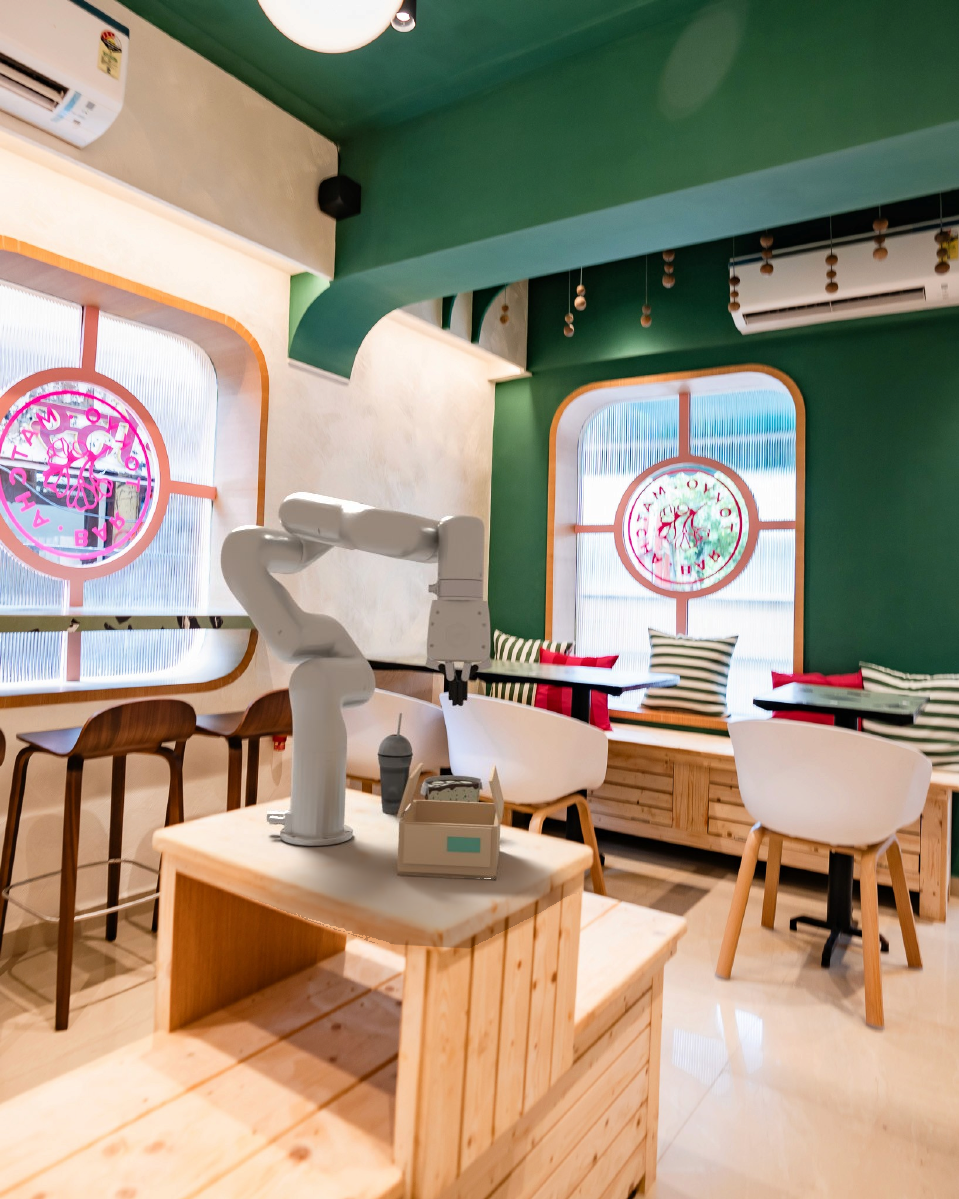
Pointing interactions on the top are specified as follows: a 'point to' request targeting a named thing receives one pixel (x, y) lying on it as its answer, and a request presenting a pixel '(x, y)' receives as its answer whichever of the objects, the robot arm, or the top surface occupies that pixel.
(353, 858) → the top surface
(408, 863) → the carton
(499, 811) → the right flap
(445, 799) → the food container
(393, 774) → the beverage cup
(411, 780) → the left flap
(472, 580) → the robot arm
